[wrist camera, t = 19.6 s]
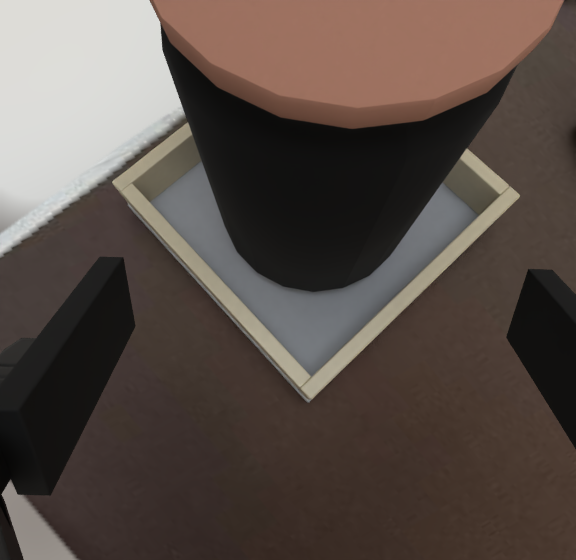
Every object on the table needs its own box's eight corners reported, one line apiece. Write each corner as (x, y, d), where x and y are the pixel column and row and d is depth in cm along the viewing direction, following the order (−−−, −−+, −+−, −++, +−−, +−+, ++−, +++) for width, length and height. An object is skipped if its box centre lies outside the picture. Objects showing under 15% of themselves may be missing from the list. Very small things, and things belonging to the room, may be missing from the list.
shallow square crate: (307, 403, 27) (310, 403, 23) (132, 211, 30) (108, 181, 26) (491, 223, 30) (524, 195, 26) (315, 64, 32) (319, 16, 28)
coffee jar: (367, 114, 30) (478, -281, 13) (427, 267, 28) (668, 38, 10) (205, 157, 29) (87, -201, 12) (251, 319, 27) (186, 166, 9)
